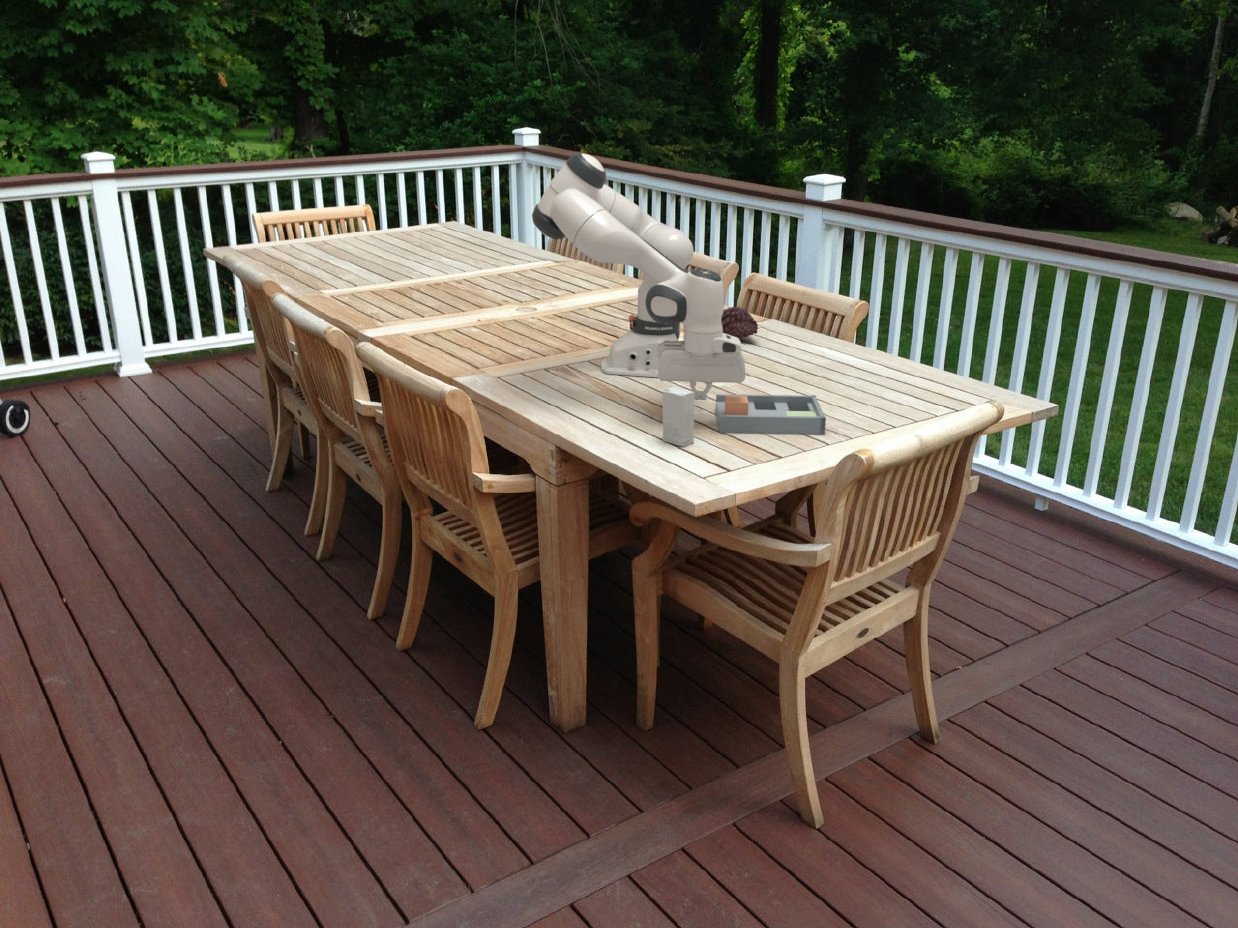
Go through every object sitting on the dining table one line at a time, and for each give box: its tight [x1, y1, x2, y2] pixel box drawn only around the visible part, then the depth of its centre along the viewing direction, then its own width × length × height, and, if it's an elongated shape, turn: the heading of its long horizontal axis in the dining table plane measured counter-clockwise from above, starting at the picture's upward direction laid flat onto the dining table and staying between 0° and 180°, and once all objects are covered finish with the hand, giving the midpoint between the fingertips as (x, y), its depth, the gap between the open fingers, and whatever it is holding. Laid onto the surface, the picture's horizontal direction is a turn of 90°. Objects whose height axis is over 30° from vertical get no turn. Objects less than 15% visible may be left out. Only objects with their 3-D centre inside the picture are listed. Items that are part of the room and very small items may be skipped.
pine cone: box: [721, 306, 759, 339], centre depth 326 cm, size 18×10×10 cm, turn 32°
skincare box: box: [661, 386, 695, 447], centre depth 243 cm, size 6×4×12 cm
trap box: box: [715, 393, 827, 435], centre depth 258 cm, size 24×17×4 cm
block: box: [725, 396, 749, 415], centre depth 255 cm, size 5×5×4 cm
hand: (700, 399), depth 254 cm, fingers closed
